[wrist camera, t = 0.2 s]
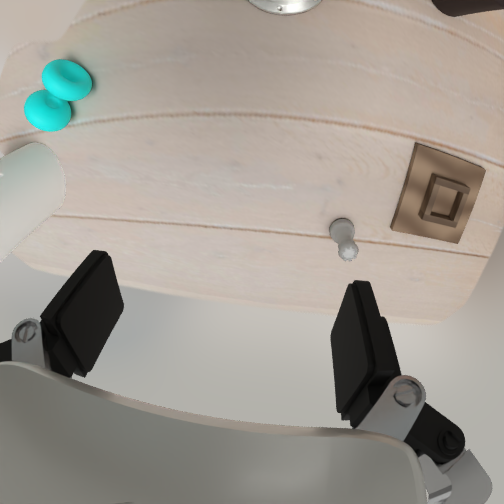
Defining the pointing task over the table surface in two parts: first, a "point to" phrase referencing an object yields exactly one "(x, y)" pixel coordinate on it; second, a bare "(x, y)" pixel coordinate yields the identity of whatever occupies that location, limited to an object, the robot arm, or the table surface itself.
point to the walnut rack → (437, 195)
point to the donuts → (57, 95)
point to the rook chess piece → (344, 238)
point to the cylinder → (28, 193)
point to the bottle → (467, 6)
